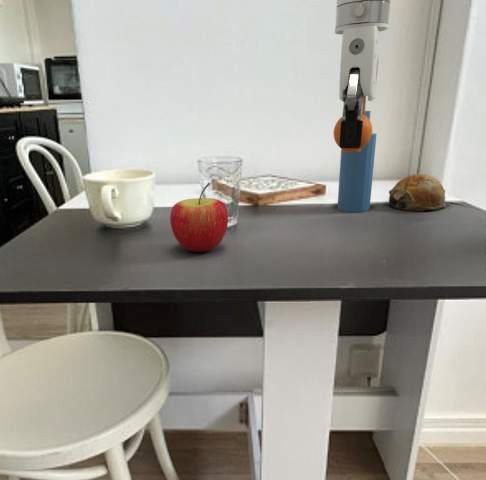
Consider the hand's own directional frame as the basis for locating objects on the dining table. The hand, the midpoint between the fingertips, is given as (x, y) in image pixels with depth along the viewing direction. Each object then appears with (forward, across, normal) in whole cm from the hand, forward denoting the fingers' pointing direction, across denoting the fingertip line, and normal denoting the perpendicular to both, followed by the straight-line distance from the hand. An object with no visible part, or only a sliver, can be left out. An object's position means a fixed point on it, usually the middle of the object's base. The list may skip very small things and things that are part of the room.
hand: (351, 144), depth 72 cm
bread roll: (+13, +16, -12) cm, 24 cm away
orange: (+1, 0, 0) cm, 1 cm away
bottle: (+13, +11, 0) cm, 17 cm away
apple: (+13, -20, +19) cm, 31 cm away
